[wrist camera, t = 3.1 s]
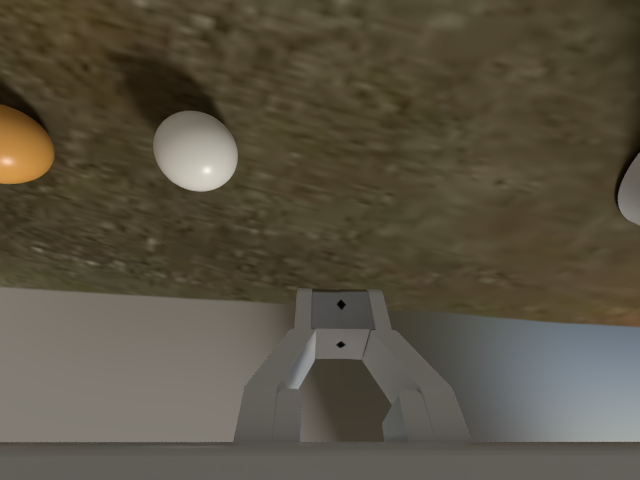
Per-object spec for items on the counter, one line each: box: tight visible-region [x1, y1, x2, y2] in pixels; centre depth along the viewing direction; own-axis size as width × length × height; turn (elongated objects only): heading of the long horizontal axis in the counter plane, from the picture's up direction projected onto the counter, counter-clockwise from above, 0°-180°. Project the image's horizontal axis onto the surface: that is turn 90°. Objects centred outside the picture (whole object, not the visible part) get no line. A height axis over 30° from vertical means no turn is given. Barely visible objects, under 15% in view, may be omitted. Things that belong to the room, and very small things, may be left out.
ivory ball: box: [153, 111, 238, 191], centre depth 19 cm, size 6×6×6 cm
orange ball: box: [0, 104, 54, 184], centre depth 19 cm, size 6×6×6 cm
